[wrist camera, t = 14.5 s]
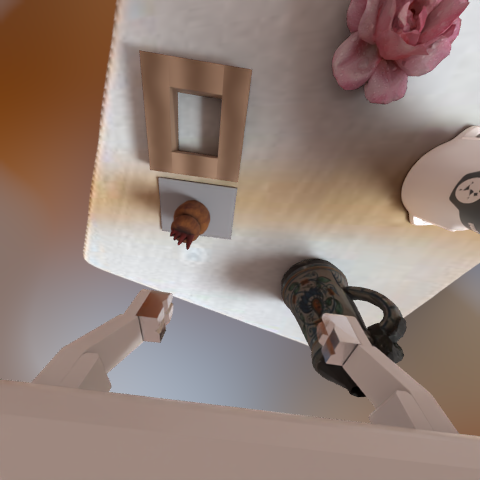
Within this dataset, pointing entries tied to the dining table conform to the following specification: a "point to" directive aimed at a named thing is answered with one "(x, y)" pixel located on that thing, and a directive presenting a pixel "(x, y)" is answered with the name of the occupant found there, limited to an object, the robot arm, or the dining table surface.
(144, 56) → the walnut socket block
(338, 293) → the beer stein
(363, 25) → the flower
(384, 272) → the dining table surface
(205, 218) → the wooden figurine
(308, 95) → the dining table surface
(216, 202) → the slate mat
